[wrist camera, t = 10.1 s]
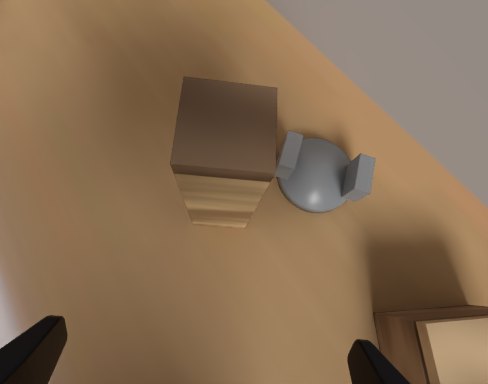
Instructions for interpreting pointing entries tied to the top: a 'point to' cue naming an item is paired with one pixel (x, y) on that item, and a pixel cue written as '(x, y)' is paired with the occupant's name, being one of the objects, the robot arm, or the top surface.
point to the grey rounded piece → (321, 174)
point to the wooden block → (224, 149)
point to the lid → (455, 349)
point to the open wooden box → (413, 336)
